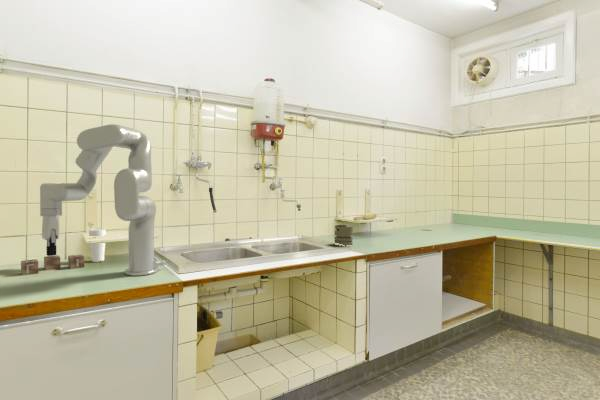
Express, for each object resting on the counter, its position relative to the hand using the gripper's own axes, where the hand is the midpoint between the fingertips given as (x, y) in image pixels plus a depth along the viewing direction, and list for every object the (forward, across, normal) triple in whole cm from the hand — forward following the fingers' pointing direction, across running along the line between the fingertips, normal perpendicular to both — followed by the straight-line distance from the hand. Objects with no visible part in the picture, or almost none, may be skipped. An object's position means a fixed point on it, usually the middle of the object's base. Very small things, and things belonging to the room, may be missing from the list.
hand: (51, 255), depth 147 cm
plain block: (+6, 0, 0) cm, 6 cm away
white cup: (+6, -3, +18) cm, 19 cm away
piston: (+4, +42, +144) cm, 150 cm away
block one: (+6, +4, +8) cm, 11 cm away
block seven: (+6, +4, -8) cm, 11 cm away
